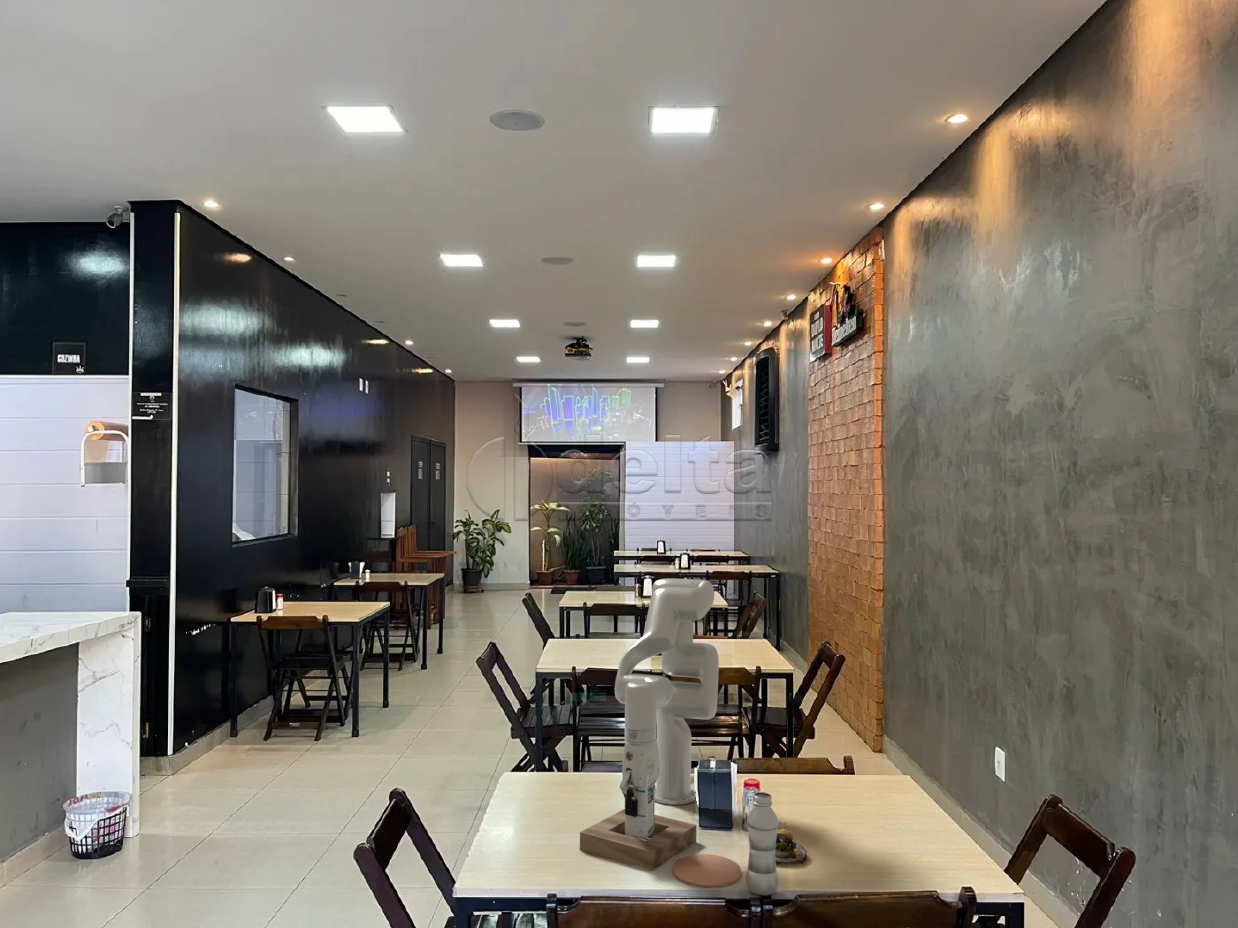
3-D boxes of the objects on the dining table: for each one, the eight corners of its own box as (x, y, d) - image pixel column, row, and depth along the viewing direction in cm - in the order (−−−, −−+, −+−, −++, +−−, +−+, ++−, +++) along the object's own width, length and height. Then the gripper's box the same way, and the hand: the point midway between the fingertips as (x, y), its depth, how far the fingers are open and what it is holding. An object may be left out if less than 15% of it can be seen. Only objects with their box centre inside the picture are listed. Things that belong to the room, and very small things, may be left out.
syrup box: (647, 838, 198) (648, 775, 199) (623, 835, 200) (624, 772, 201) (654, 829, 204) (655, 768, 204) (631, 826, 206) (631, 765, 206)
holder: (626, 823, 215) (626, 807, 216) (696, 841, 204) (696, 824, 205) (579, 849, 199) (579, 832, 199) (653, 870, 188) (653, 852, 188)
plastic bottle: (753, 882, 182) (754, 787, 184) (783, 891, 179) (783, 793, 180) (740, 893, 177) (740, 795, 178) (770, 902, 173) (770, 802, 174)
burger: (744, 854, 198) (744, 822, 198) (778, 843, 205) (778, 811, 205) (783, 872, 188) (784, 838, 189) (818, 859, 196) (818, 826, 196)
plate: (692, 853, 198) (692, 848, 198) (752, 868, 189) (752, 864, 189) (659, 875, 185) (659, 871, 185) (721, 893, 177) (721, 888, 177)
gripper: (634, 745, 194) (633, 825, 193) (672, 729, 208) (671, 803, 207) (606, 740, 198) (606, 818, 197) (646, 724, 212) (645, 797, 212)
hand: (639, 810), depth 202 cm, fingers closed on syrup box, 6 cm apart
